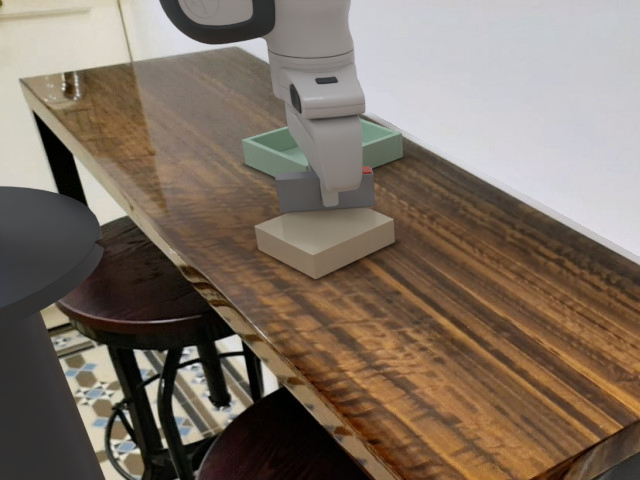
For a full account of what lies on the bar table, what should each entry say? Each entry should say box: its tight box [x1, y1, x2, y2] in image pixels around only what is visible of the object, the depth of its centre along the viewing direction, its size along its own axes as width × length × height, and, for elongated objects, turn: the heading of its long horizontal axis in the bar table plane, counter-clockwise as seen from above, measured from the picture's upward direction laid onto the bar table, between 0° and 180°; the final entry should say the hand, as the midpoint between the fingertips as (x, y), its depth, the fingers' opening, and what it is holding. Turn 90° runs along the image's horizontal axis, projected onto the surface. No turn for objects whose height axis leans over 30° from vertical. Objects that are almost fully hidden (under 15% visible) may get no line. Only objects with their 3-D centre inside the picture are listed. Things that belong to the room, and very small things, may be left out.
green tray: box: [241, 118, 404, 178], centre depth 106 cm, size 18×14×4 cm
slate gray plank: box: [274, 166, 376, 214], centre depth 86 cm, size 11×2×4 cm, turn 105°
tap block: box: [253, 207, 396, 280], centre depth 85 cm, size 12×10×3 cm
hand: (325, 198), depth 87 cm, fingers closed on slate gray plank, 2 cm apart
